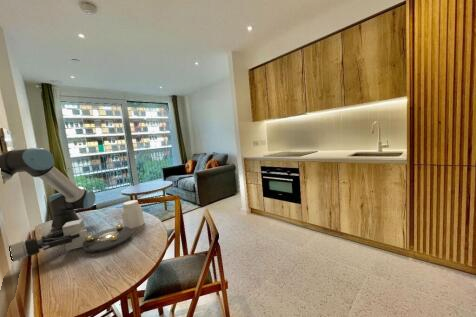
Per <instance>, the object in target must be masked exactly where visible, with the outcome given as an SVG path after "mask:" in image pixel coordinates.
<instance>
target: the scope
mask: <svg viewBox="0 0 476 317" xmlns="http://www.w3.org/2000/svg"><path fill="white" fill-rule="evenodd" d="M72 216H73V214H72V213H71V214H65V215H62V216H61V219H62V220H61V221H62V227H63V226H64V225H65V224H66V223H67V222H71V221H74V220H73V217H72ZM61 230H63V229H61ZM61 230H60V231H61Z"/></svg>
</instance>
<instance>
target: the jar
mask: <svg viewBox="0 0 476 317" xmlns="http://www.w3.org/2000/svg"><path fill="white" fill-rule="evenodd" d="M122 206H123V208H122V210H121V218H122V225H123V227H128V228H130V229H131V230H132V229H134V228H140V227H142V226H143V225H144V224H145V219H144V213H143V207H142V206H141V205H140V204H139V200H137V199H135V200H134V199H133V200H128V201H125V202H124V203H122Z"/></svg>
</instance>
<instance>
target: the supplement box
mask: <svg viewBox="0 0 476 317" xmlns="http://www.w3.org/2000/svg"><path fill="white" fill-rule="evenodd" d="M62 229H63V234H64V236H63V237H65V236H69V235H71V234H74V233H77V232H80V231H83V230H86V228H85V222H84V219H83V218H82V219H80V220H76V221H71V222H67V223H66V224H65V225H64V226H63V227H62ZM85 237H87V235H85V236H82V237H79V238H76V239H73V240H72V242H71V243H66V244H65V248H66V251H67V252H68V251H71V250H76V249H78V248H83V242H84V241H85Z"/></svg>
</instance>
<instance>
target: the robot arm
mask: <svg viewBox="0 0 476 317" xmlns="http://www.w3.org/2000/svg"><path fill="white" fill-rule="evenodd" d="M0 168H1V175H2V179H3V184H4V185H6V183H7V181H9V180H11V179H12V178H13V176H14V175H16V174H18V173H23V172H24V173H27V174H28V175H29V176H31V177H33V178H40V179H41V180H42V181H43V182H45V183H46V184H47V185H49V186H50V187H52V188H53V189H54V190H55V191H57V193H54V194H51V195H49V196H48V201H49V202H48V203H49V206H50V211H51V215H52V221H51V230H52V231H56V232H53V233H50V234H48V235H44V236H43V235H42V236H41V239H39V240H37V237H31V238H29V239H25V241H23V240H22V241H18V242H16V243H12V244H9V245H10V246H9V245H8V246H9V251H10V248H11V251H10V257H11V260H12V261H13V262H12V263H14V262H20V261H21V260H22V259H25V258H27V256H28V257H31V256H35V255H38V254H39V253H40V250H41V249H43V251H46V250H49V249H51V248H54V247H55V248H56V247H59V246H62V245H66V243H71V242H72V240H73V239H76V238H79V237H82V236H85V235H86V236H89V235H88V229H86V228H85V230H83V231H80V232H77V233H74V234H71V235H69V236H65V237H64V234H63V230H61V229H62V221H61V220H62V219H61V216H62V215H65V214H71V213H72V214H73V216H72V217H73V220H74V221H76V220H81V219H80V218H79V216H78V215H77V212H76V211H75V210H83V209H90V208H92V207H93V206H94V205H95V202H96V193H95V192H94V191H93V190H86V188H84V187H82V186H78V185H76V184H75V183H74V182H73V181H72V180H71V179H69V178H68V177H67V176H66V175H64V174H63V173H62V172H61V171H60V170H59V169H58V168H56V167H55V158H54V156H53V154H52V153H51V152H50V151H49V150H48V149H45V148H42V147H30V148H24V149H13V150H8V151H5V152H3V153H1V154H0ZM11 254H12V256H11ZM12 258H13V259H12Z"/></svg>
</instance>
